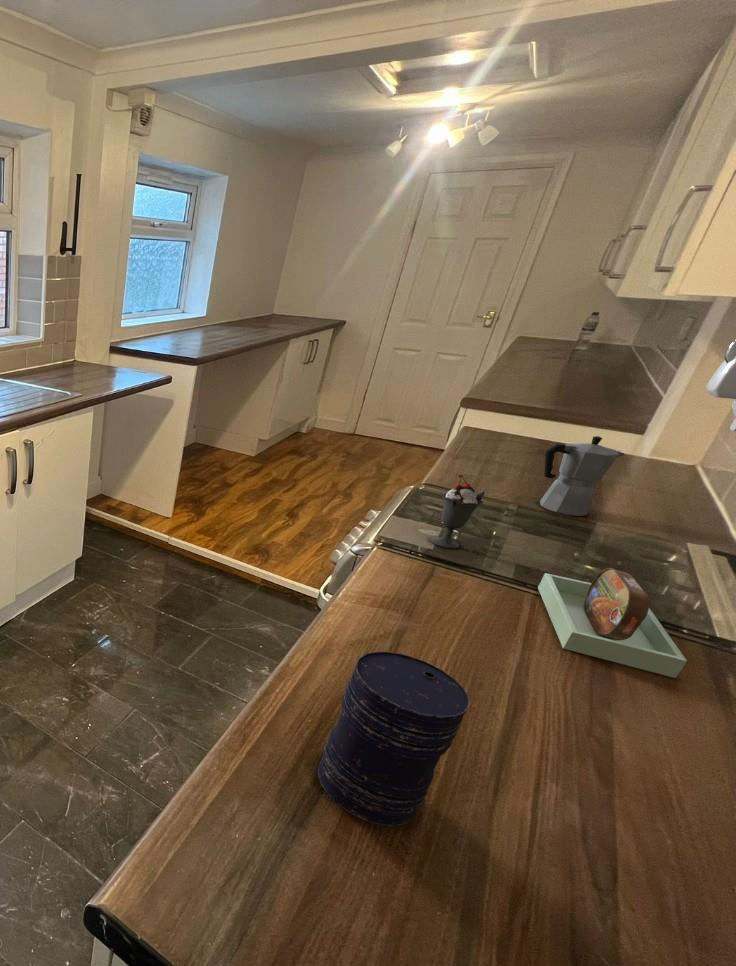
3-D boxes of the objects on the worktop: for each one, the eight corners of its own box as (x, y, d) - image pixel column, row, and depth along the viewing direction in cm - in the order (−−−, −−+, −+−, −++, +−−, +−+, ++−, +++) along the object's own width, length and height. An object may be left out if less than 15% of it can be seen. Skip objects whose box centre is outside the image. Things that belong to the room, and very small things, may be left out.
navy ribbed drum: (374, 840, 58) (426, 729, 51) (297, 767, 66) (332, 663, 59) (438, 808, 62) (494, 700, 55) (357, 743, 70) (397, 642, 63)
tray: (630, 608, 99) (639, 593, 98) (675, 678, 83) (687, 661, 81) (537, 587, 105) (545, 572, 104) (562, 648, 88) (572, 632, 87)
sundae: (418, 539, 122) (444, 472, 115) (439, 534, 124) (465, 468, 118) (449, 552, 117) (478, 483, 110) (470, 547, 119) (500, 479, 112)
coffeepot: (580, 504, 143) (616, 433, 135) (607, 519, 135) (647, 444, 127) (511, 498, 145) (542, 428, 137) (533, 512, 137) (568, 439, 129)
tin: (579, 601, 100) (602, 558, 96) (602, 606, 98) (627, 563, 95) (601, 645, 88) (629, 598, 85) (629, 652, 87) (658, 605, 83)
